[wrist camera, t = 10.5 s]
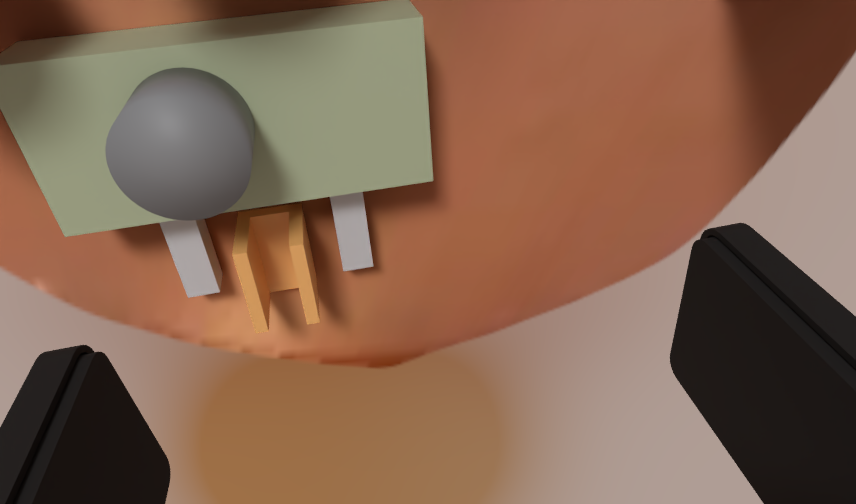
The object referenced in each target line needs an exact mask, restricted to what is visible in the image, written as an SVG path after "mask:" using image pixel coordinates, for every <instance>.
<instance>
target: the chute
mask: <svg viewBox="0 0 856 504" xmlns="http://www.w3.org/2000/svg"><path fill="white" fill-rule="evenodd" d="M232 256H233V260H234V263H235V266H236V270H237V273H238V276H239V280H240V283H241V286H242V290H243V293H244V296H245V300H246V303H247V306H248V310H249V313H250V316H251V319H252V323H253V326H254V329H255V333H261V332H267V331H269V310H270V292H276V291H282V290H288V289H294V288H299V291H300V295H301V300H302V304H303V308H304V313H305V317H306V321H307V325H308V324H314V323H319V322H320V317H319V303H318V289H317V276H316V271H315V266H314V261H313V257H312V252H311V247H310V242H309V237H308V232H307V227H306V223H305V218H304V213H303V208H302V203H296V204H289V205H282V206H276V207H269V208H262V209H255V210H248V211H241V212H238V215H237V222H236V230H235V237H234V245H233V252H232Z"/></svg>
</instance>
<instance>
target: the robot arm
mask: <svg viewBox="0 0 856 504" xmlns="http://www.w3.org/2000/svg"><path fill="white" fill-rule="evenodd" d="M670 363H671V367H672V370H673V373H674V375H675V376H676V378H677V380H678V381H679V382H680V384H681V385H682V387H683V388H684V389H685V391H686V393H687V394H688V395H689V397H690V398H691V400H692V401H693V403H694V404H695V405H696V407H697V408H698V410H699V411H700V413H701V414H702V415H703V417H704V418H705V420H706V421H707V422H708V424H709V425H710V427H711V428H712V430H713V431H714V433H715V434H716V436H717V437H718V438H719V440H720V441H721V443H722V444H723V446H724V447H725V448H726V450H727V451H728V453H729V454H730V456H731V457H732V459H733V460H734V461H735V463H736V464H737V466H738V467H739V468H740V470H741V471H742V473H743V474H744V476H745V477H746V478H747V480H748V481H749V483H750V484H751V486H752V487H753V488H754V490H755V491H756V493H757V494H758V496H759V497H760V499H761V500H762V501H763V503H764V504H856V316H854V315H853V314H852V313H851V312H850V311H848V310H847V309H846V308H845V307H844V306H843V305H841V304H840V303H839V302H838V301H837V300H836V299H834V298H833V297H832V296H831V295H830V294H829V293H827V292H826V291H825V290H824V289H823V288H822V287H820V286H819V285H818V284H817V283H816V282H815V281H813V280H812V279H811V278H810V277H809V276H808V275H806V274H805V273H804V272H803V271H802V270H801V269H799V268H798V267H797V266H796V265H795V264H794V263H792V262H791V261H790V260H789V259H788V258H787V257H785V256H784V255H783V254H782V253H781V252H779V251H778V250H777V249H776V248H775V247H774V246H772V245H771V244H770V243H769V242H768V241H767V240H765V239H764V238H763V237H762V236H761V235H760V234H758V233H757V232H756V231H755V230H754V229H753V228H751V227H750V226H748V225H747V224H744V223H737V224H732V225H727V226H721V227H716V228H710V229H707V230H705V231H704V232H703V234H702V236H701V238H700V240H697V241H695V242H694V244H693V246H692V250H691V255H690V260H689V265H688V269H687V274H686V280H685V284H684V289H683V295H682V299H681V304H680V309H679V314H678V319H677V324H676V329H675V334H674V338H673V343H672V348H671V353H670ZM169 483H170V466H169V461H168V459H167V457H166V455H165V453H164V452H163V450H162V448H161V446H160V445H159V443H158V441H157V440H156V438H155V436H154V435H153V433H152V431H151V430H150V428H149V426H148V425H147V423H146V421H145V420H144V418H143V416H142V415H141V413H140V411H139V410H138V408H137V406H136V404H135V403H134V401H133V399H132V398H131V396H130V394H129V393H128V391H127V389H126V388H125V386H124V384H123V383H122V381H121V379H120V378H119V376H118V374H117V372H116V371H115V369H114V367H113V366H112V364H111V362H110V361H109V359H108V358H107V356H106V355H105V354H104V353H102V352H94V351H93V350H92V348H90V347H89V346H87V345H80V346H74V347H69V348H64V349H59V350H53V351H48V352H44V353H42V354H40V355H39V357H38V358H37V359H36V361H35V363H34V365H33V366H32V368H31V370H30V372H29V374H28V376H27V378H26V380H25V382H24V384H23V385H22V388H21V389H20V391H19V393H18V395H17V397H16V399H15V401H14V403H13V405H12V406H11V408H10V410H9V412H8V414H7V416H6V418H5V420H4V422H3V424H2V425H1V427H0V504H165V501H166V497H167V492H168V487H169Z"/></svg>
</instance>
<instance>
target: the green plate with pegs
mask: <svg viewBox="0 0 856 504" xmlns="http://www.w3.org/2000/svg"><path fill="white" fill-rule="evenodd" d="M0 109H1V111H2V113H3V115H4V117H5V119H6V121H7V123H8V125H9V127H10V129H11V131H12V133H13V135H14V137H15V139H16V141H17V143H18V145H19V147H20V149H21V151H22V153H23V155H24V157H25V159H26V161H27V163H28V165H29V167H30V169H31V171H32V172H33V174H34V176H35V178H36V180H37V182H38V184H39V186H40V188H41V190H42V192H43V194H44V196H45V198H46V200H47V202H48V204H49V206H50V208H51V210H52V212H53V214H54V216H55V218H56V220H57V222H58V224H59V226H60V228H61V230H62V232H63V234H64V236H65V237H68V236H74V235H81V234H87V233H94V232H101V231H107V230H114V229H120V228H127V227H134V226H140V225H147V224H153V223H160V226H161V229H162V231H163V234H164V236H165V239H166V242H167V244H168V247H169V249H170V252H171V254H172V257H173V260H174V262H175V265H176V267H177V270H178V273H179V275H180V278H181V280H182V283H183V286H184V288H185V291H186V293H187V296H188V298H189V297H195V296H201V295H207V294H213V293H219V292H220V290H221V283H222V276H223V273H222V270H221V267H220V264H219V261H218V258H217V255H216V252H215V249H214V246H213V243H212V240H211V237H210V234H209V231H208V228H207V225H206V222H205V219H206V218H210V217H213V216H216V215H218V214H220V213H226V212H233V211H239V210H246V209H252V208H259V207H266V206H272V205H279V204H285V203H292V202H299V201H305V200H312V199H318V198H325V197H330V200H331V205H332V211H333V216H334V222H335V227H336V233H337V238H338V244H339V249H340V255H341V260H342V266H343V271H349V270H355V269H361V268H367V267H373V260H372V253H371V246H370V239H369V232H368V226H367V219H366V212H365V205H364V198H363V192H364V191H371V190H378V189H384V188H391V187H397V186H404V185H411V184H417V183H424V182H430V181H433V168H432V152H431V137H430V121H429V106H428V90H427V75H426V59H425V44H424V28H423V16H422V15H421V14H420V13H419V12H418V10H417V9H416V8H415V7H414V6H413V4H412V3H411V2H410V1H409V0H388V1H379V2H370V3H361V4H352V5H343V6H334V7H325V8H316V9H307V10H298V11H289V12H280V13H271V14H262V15H253V16H243V17H234V18H225V19H216V20H207V21H198V22H189V23H180V24H171V25H162V26H153V27H144V28H135V29H126V30H117V31H108V32H99V33H90V34H81V35H72V36H63V37H54V38H44V39H35V40H26V41H17V42H15V43H14V44H13V45H11V46H10V47H8V48H7V49H5V50H4V51H3V52H1V53H0Z"/></svg>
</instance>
